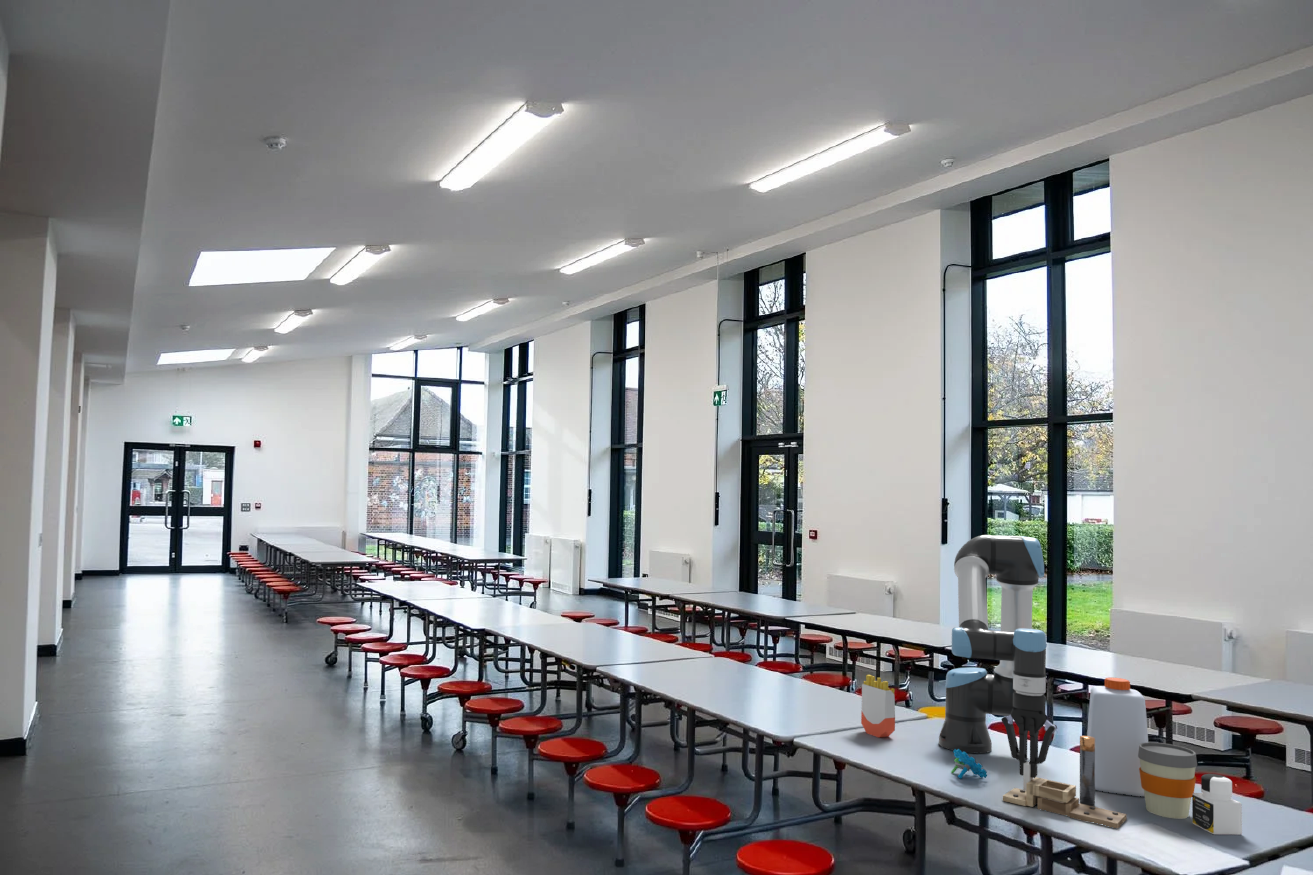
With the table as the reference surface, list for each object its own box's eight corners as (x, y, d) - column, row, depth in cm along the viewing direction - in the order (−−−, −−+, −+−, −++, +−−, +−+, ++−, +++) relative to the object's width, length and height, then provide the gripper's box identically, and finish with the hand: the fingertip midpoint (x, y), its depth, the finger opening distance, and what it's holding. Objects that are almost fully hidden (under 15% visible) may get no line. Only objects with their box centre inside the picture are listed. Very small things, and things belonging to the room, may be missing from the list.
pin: (1081, 800, 224) (1081, 734, 225) (1096, 803, 222) (1096, 737, 223) (1078, 803, 222) (1078, 737, 223) (1092, 806, 220) (1092, 739, 221)
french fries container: (871, 729, 288) (873, 672, 290) (895, 738, 279) (896, 679, 280) (860, 731, 286) (862, 673, 287) (884, 739, 276) (885, 680, 278)
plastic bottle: (1088, 791, 232) (1088, 681, 234) (1082, 775, 246) (1083, 671, 248) (1154, 799, 227) (1154, 687, 229) (1144, 783, 241) (1144, 677, 243)
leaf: (1014, 792, 228) (1015, 771, 228) (1076, 806, 218) (1076, 784, 219) (1002, 800, 221) (1002, 778, 221) (1066, 815, 211) (1066, 793, 212)
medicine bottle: (1191, 823, 210) (1191, 771, 211) (1220, 823, 211) (1220, 771, 212) (1213, 834, 203) (1212, 780, 204) (1242, 835, 204) (1242, 780, 205)
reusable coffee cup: (1196, 825, 209) (1196, 759, 210) (1135, 813, 216) (1135, 749, 217) (1197, 810, 220) (1197, 748, 221) (1139, 800, 226) (1139, 739, 228)
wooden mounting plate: (1047, 800, 223) (1047, 790, 223) (1126, 819, 211) (1126, 807, 211) (1036, 809, 216) (1036, 798, 216) (1117, 828, 204) (1117, 817, 205)
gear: (995, 777, 236) (969, 749, 236) (982, 794, 234) (956, 766, 234) (972, 770, 246) (947, 744, 246) (959, 787, 245) (934, 760, 245)
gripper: (997, 690, 225) (996, 786, 223) (1052, 699, 216) (1051, 799, 214) (1007, 686, 230) (1006, 780, 229) (1061, 694, 222) (1060, 792, 220)
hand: (1028, 789), depth 221 cm, fingers closed
